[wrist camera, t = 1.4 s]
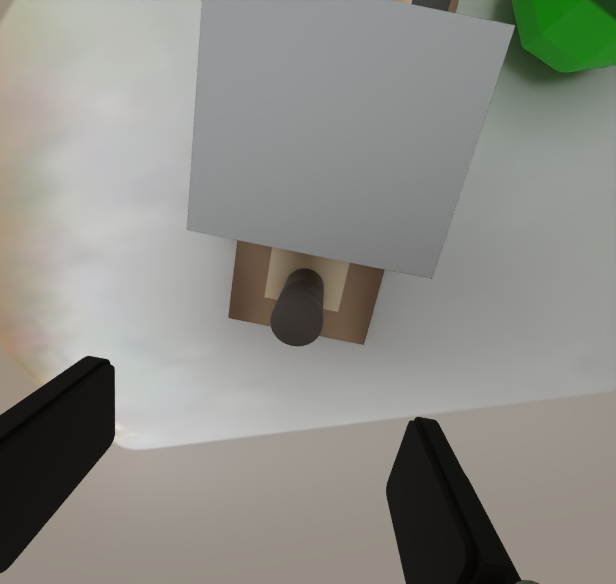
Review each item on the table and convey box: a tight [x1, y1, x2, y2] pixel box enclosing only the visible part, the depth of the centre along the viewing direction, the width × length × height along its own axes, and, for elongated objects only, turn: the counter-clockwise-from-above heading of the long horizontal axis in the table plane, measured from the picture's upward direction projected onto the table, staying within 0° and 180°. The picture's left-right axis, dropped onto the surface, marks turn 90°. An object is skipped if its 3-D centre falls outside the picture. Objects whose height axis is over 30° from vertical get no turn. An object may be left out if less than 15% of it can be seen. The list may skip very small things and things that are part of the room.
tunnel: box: [187, 0, 515, 279], centre depth 18 cm, size 13×11×8 cm
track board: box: [228, 0, 459, 345], centre depth 23 cm, size 12×27×1 cm, turn 169°
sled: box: [265, 0, 412, 346], centre depth 18 cm, size 6×22×8 cm, turn 169°
